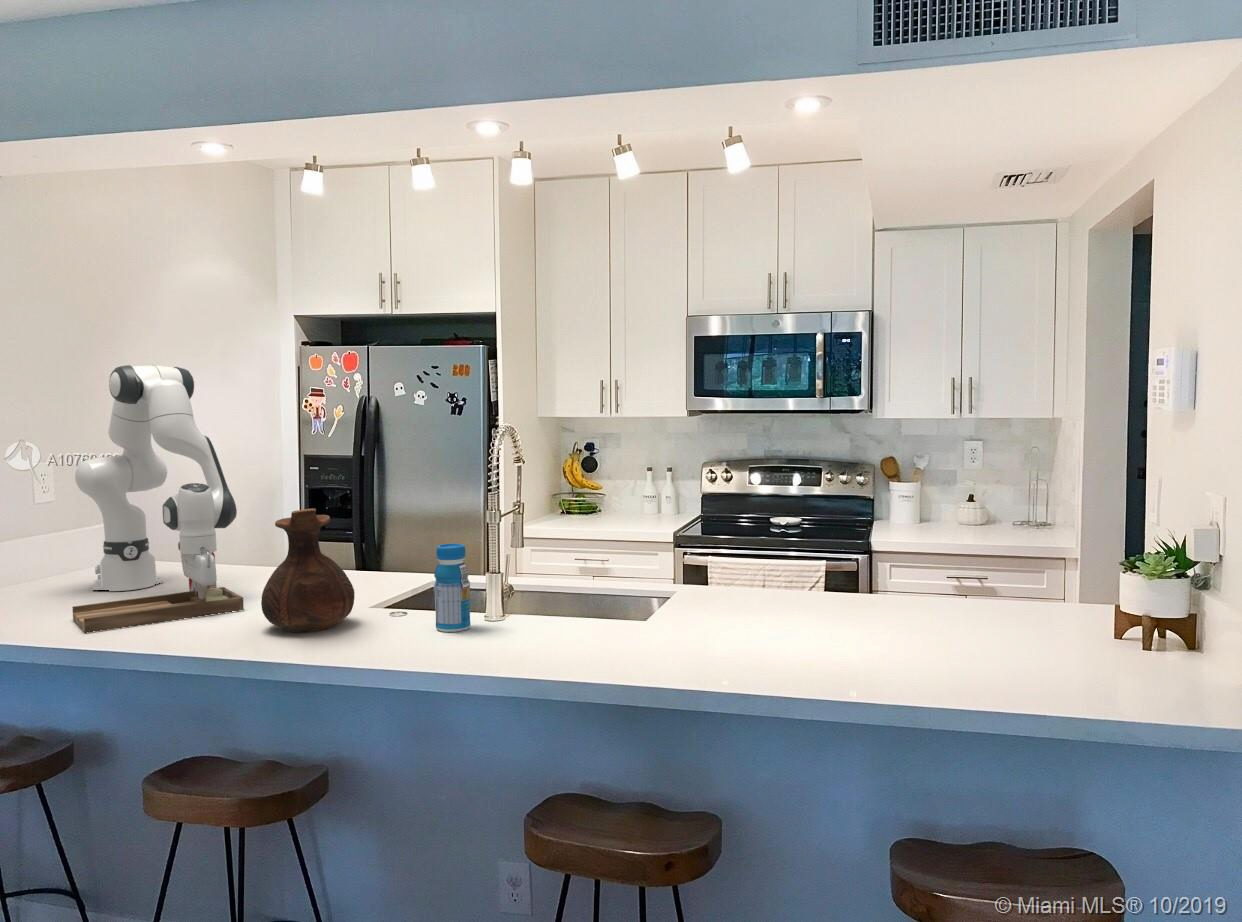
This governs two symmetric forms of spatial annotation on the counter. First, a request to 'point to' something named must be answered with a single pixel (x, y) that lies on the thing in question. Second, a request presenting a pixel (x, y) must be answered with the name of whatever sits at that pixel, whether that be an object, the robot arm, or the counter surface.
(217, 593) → the birch block
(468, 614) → the beverage bottle
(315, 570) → the jug
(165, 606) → the trap lane
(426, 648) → the counter surface
